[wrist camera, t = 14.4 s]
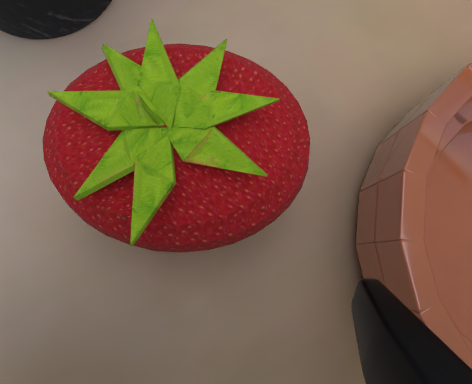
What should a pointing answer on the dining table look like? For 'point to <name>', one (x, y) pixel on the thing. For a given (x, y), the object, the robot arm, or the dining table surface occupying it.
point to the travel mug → (48, 16)
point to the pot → (425, 213)
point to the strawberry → (176, 146)
